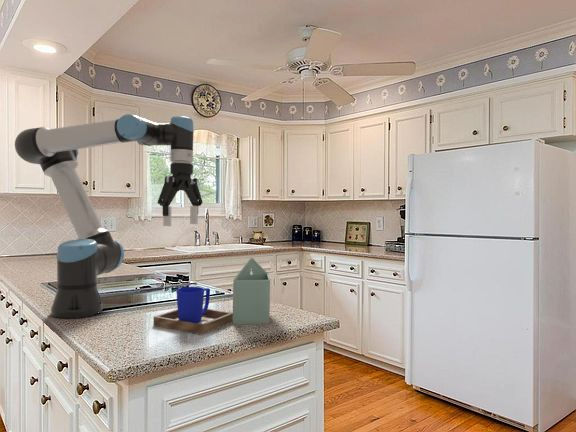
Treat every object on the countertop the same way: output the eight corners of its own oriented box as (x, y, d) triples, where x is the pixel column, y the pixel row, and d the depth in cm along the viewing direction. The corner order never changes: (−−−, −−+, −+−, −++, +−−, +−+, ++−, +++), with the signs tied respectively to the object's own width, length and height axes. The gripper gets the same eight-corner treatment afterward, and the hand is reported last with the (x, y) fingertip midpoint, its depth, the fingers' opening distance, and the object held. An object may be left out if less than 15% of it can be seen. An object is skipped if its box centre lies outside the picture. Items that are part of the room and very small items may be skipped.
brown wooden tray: (153, 325, 131) (153, 316, 131) (188, 313, 145) (188, 305, 145) (201, 334, 123) (202, 325, 123) (233, 321, 137) (234, 312, 137)
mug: (218, 318, 137) (218, 287, 137) (189, 327, 127) (190, 293, 126) (199, 314, 141) (199, 283, 141) (170, 323, 131) (170, 289, 131)
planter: (251, 329, 129) (252, 262, 129) (231, 324, 134) (233, 259, 133) (284, 317, 142) (286, 257, 142) (266, 313, 147) (267, 255, 146)
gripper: (164, 159, 137) (163, 227, 138) (212, 165, 159) (211, 223, 160) (146, 160, 141) (146, 226, 141) (196, 165, 163) (195, 223, 164)
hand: (181, 225), depth 151 cm, fingers open, 13 cm apart
